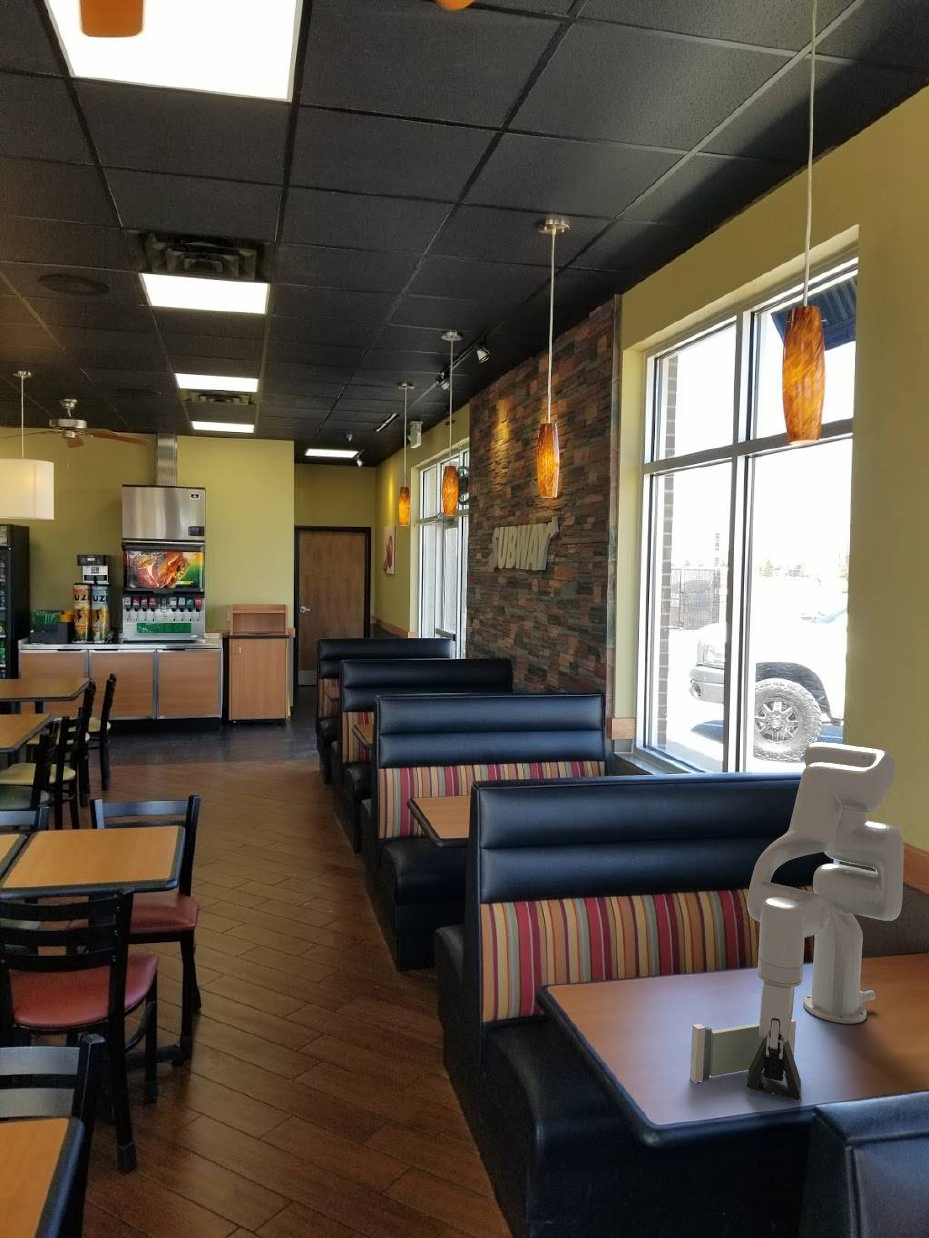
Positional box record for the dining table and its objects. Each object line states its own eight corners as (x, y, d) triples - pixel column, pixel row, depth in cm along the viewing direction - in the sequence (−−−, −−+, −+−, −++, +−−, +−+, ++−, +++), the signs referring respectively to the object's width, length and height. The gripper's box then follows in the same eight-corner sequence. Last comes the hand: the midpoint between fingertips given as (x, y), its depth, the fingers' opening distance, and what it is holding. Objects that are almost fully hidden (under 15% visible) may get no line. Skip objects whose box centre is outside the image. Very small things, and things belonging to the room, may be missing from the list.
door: (704, 1080, 162) (707, 1031, 161) (699, 1075, 163) (702, 1027, 163) (774, 1067, 167) (776, 1019, 167) (769, 1063, 169) (771, 1016, 168)
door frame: (787, 1060, 170) (790, 1009, 170) (793, 1065, 169) (796, 1012, 169) (689, 1078, 162) (692, 1024, 162) (695, 1083, 161) (697, 1028, 161)
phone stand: (801, 1083, 160) (804, 1017, 160) (800, 1100, 155) (803, 1032, 154) (748, 1071, 163) (752, 1007, 163) (746, 1087, 158) (749, 1021, 158)
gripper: (762, 948, 168) (757, 1042, 168) (752, 984, 152) (747, 1087, 152) (805, 956, 165) (800, 1052, 165) (799, 993, 149) (794, 1099, 149)
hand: (774, 1068), depth 159 cm, fingers closed on phone stand, 6 cm apart
